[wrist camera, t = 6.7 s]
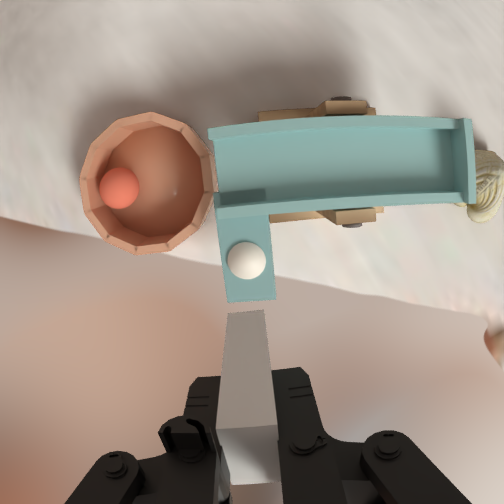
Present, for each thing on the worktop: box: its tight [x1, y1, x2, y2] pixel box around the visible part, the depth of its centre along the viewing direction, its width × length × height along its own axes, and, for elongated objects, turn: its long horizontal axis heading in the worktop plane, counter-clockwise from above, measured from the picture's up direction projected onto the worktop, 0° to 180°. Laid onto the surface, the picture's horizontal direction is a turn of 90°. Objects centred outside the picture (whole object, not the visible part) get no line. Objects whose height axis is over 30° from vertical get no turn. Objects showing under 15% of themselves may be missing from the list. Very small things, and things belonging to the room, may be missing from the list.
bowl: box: [79, 112, 218, 255], centre depth 29 cm, size 13×13×4 cm
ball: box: [99, 167, 139, 209], centre depth 28 cm, size 4×4×4 cm
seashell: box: [454, 150, 504, 223], centre depth 29 cm, size 8×8×8 cm
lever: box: [207, 115, 476, 303], centre depth 23 cm, size 14×20×3 cm
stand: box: [258, 97, 384, 228], centre depth 26 cm, size 11×12×9 cm
